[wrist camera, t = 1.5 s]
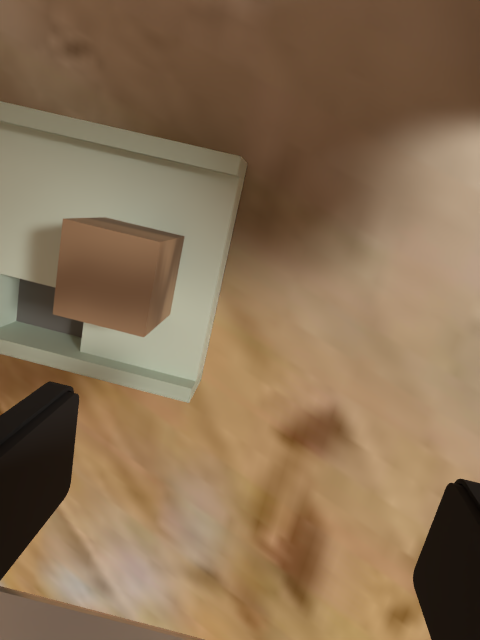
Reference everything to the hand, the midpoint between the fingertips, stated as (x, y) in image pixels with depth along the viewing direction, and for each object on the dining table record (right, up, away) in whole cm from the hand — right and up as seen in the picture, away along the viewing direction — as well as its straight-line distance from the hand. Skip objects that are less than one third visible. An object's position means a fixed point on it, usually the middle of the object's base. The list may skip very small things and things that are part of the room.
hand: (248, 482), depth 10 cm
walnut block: (-6, +7, +16) cm, 18 cm away
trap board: (-14, +10, +18) cm, 25 cm away
